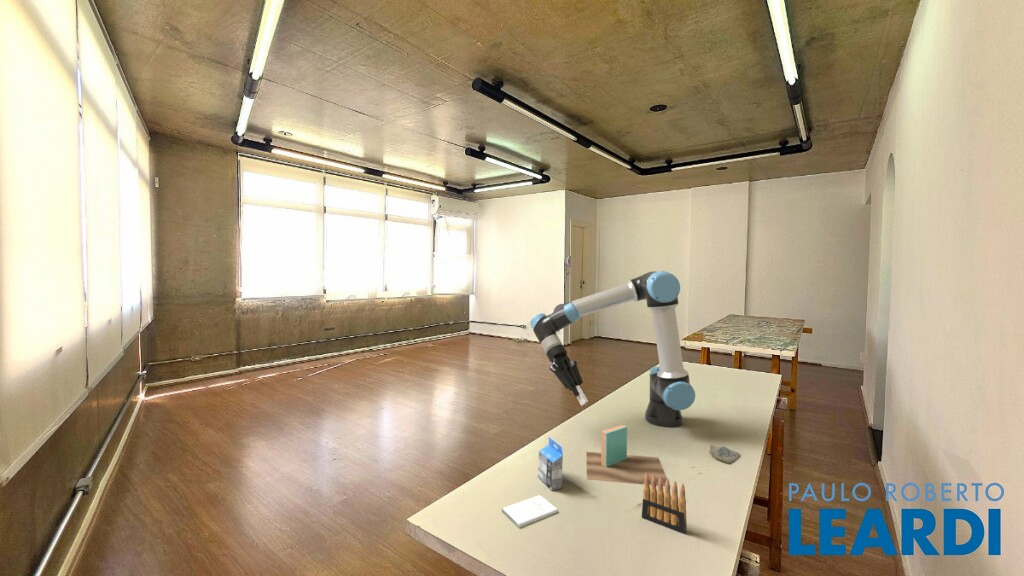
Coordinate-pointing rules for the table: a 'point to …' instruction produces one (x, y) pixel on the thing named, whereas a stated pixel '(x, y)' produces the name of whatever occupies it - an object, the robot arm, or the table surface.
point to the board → (625, 469)
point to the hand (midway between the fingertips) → (584, 403)
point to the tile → (613, 445)
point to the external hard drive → (529, 511)
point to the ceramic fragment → (724, 454)
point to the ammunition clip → (664, 505)
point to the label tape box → (551, 465)
